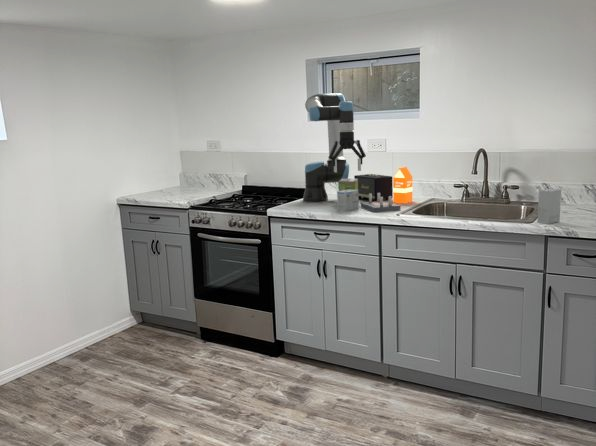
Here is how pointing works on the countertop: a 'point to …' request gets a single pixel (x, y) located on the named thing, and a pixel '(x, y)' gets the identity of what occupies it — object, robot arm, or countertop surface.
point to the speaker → (374, 186)
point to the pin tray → (380, 209)
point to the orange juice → (402, 186)
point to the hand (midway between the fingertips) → (347, 171)
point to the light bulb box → (347, 200)
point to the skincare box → (549, 206)
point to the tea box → (347, 184)
